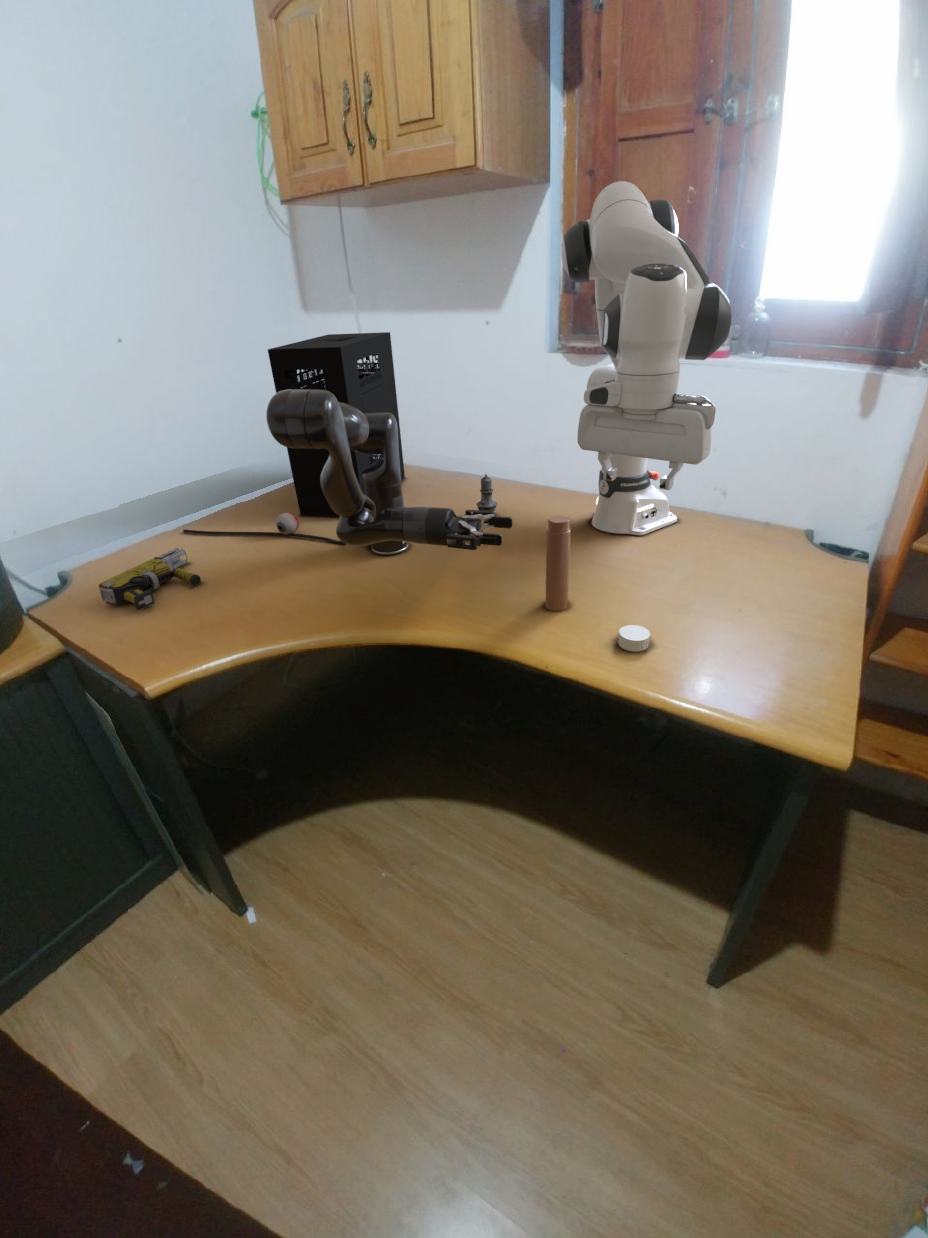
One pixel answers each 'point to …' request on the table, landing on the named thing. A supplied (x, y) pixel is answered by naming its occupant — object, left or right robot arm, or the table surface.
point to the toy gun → (146, 580)
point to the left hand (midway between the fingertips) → (507, 531)
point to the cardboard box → (349, 386)
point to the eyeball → (287, 523)
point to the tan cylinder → (557, 563)
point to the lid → (633, 638)
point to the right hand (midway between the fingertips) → (636, 483)
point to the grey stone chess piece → (486, 496)
